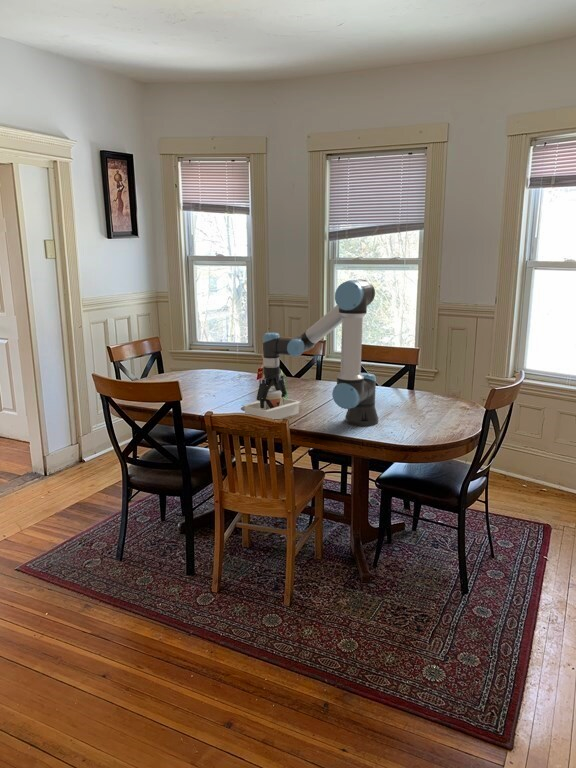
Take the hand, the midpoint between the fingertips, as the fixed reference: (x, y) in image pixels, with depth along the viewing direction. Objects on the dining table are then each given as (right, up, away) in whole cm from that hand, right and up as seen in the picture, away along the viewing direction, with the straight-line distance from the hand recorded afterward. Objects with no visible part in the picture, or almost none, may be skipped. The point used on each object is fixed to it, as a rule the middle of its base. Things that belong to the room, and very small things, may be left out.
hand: (272, 412), depth 271 cm
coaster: (-10, +1, +12) cm, 16 cm away
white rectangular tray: (0, -2, 0) cm, 2 cm away
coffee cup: (0, -2, 0) cm, 2 cm away
